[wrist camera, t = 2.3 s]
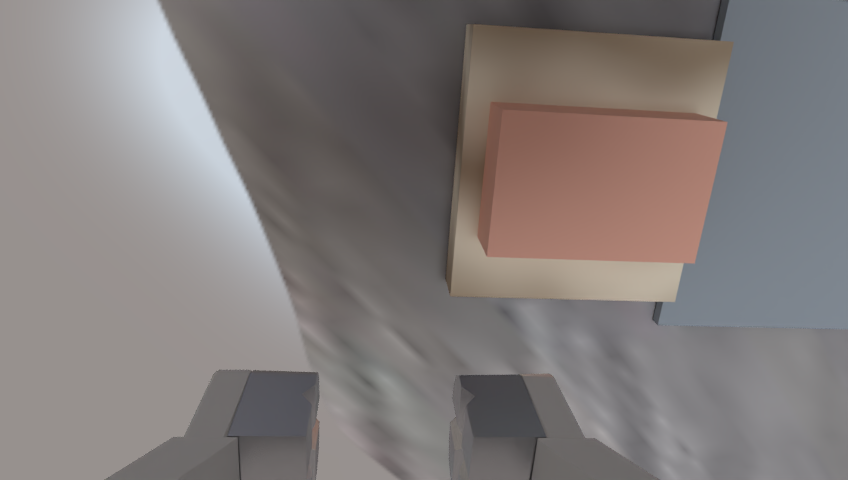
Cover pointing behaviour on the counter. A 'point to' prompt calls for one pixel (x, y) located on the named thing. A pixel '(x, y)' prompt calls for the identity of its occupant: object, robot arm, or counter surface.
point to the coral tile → (596, 183)
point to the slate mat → (776, 175)
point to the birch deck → (581, 87)
